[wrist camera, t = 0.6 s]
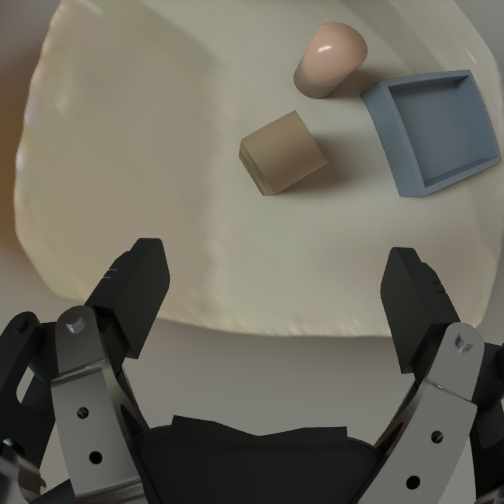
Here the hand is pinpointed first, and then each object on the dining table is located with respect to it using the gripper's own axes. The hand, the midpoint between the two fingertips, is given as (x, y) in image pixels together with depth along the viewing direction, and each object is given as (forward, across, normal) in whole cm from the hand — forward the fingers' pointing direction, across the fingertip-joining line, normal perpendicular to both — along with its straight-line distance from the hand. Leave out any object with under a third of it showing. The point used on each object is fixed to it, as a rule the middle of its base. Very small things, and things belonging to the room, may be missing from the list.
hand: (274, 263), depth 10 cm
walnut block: (+24, +1, +4) cm, 24 cm away
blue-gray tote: (+30, -20, -1) cm, 36 cm away
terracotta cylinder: (+29, -4, -6) cm, 29 cm away
